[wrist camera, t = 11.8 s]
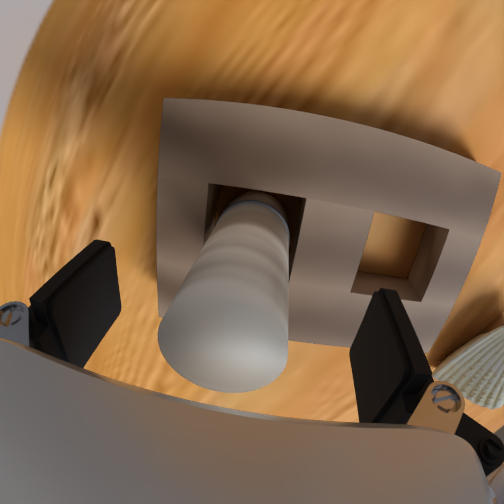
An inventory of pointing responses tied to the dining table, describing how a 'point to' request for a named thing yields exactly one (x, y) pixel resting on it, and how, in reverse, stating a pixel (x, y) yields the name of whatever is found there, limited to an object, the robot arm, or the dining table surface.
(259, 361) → the grey domed cylinder
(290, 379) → the dining table surface
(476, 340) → the seashell
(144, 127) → the dining table surface
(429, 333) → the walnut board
